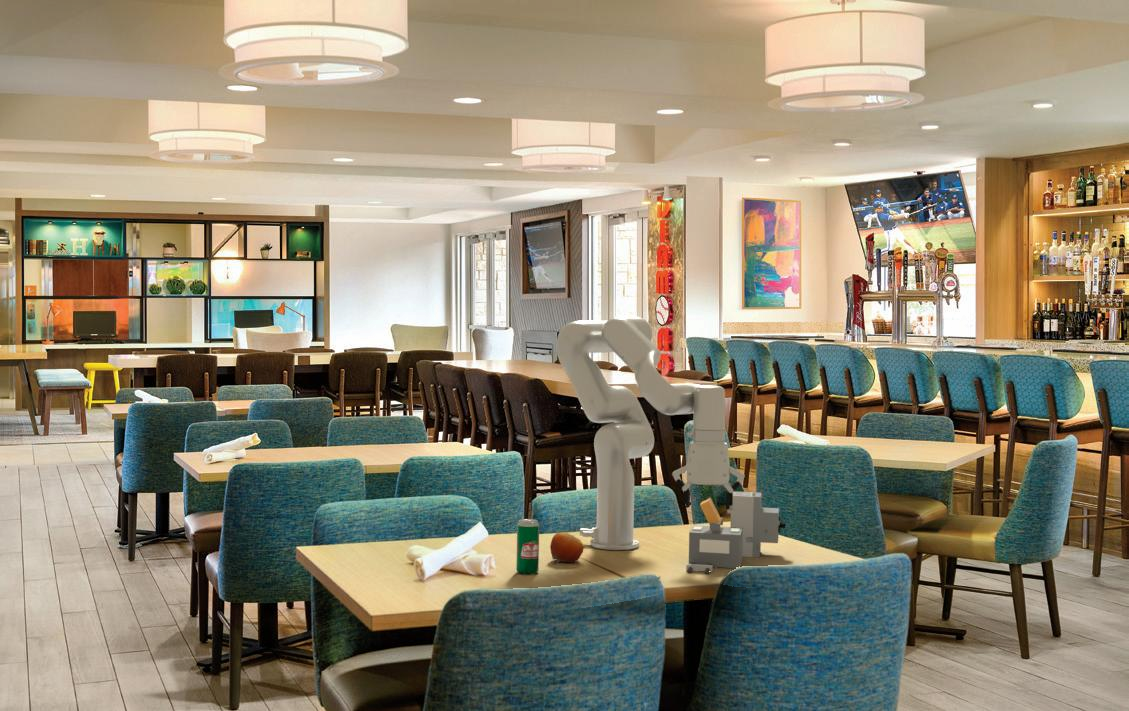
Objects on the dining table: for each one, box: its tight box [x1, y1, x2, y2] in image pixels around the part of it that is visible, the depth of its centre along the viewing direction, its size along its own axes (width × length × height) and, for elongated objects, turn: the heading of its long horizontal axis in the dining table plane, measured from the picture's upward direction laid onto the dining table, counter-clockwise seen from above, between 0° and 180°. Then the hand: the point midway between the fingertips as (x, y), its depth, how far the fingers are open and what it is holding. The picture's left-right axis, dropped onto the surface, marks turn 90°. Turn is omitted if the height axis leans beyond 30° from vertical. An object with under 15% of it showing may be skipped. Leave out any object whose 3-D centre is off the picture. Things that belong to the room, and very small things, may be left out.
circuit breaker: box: [726, 491, 787, 558], centre depth 293 cm, size 8×14×15 cm, turn 78°
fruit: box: [549, 531, 585, 565], centre depth 281 cm, size 8×8×8 cm
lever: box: [699, 497, 722, 525], centre depth 282 cm, size 2×6×7 cm, turn 168°
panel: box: [688, 517, 743, 569], centre depth 282 cm, size 12×10×10 cm
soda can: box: [515, 518, 540, 576], centre depth 268 cm, size 5×5×12 cm
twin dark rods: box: [685, 562, 714, 574], centre depth 274 cm, size 6×8×1 cm
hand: (707, 507), depth 282 cm, fingers open, 9 cm apart
